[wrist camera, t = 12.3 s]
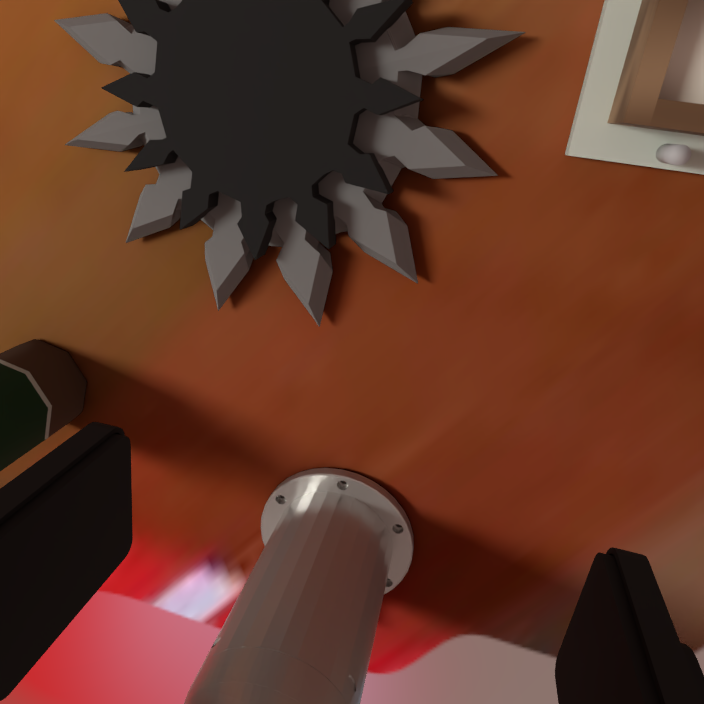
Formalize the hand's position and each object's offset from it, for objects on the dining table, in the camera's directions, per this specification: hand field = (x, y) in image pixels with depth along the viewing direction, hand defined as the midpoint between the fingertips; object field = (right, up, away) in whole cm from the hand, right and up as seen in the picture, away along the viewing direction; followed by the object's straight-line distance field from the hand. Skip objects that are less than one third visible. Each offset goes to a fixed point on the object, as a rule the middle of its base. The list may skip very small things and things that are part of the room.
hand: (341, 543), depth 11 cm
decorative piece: (-5, +20, +25) cm, 32 cm away
